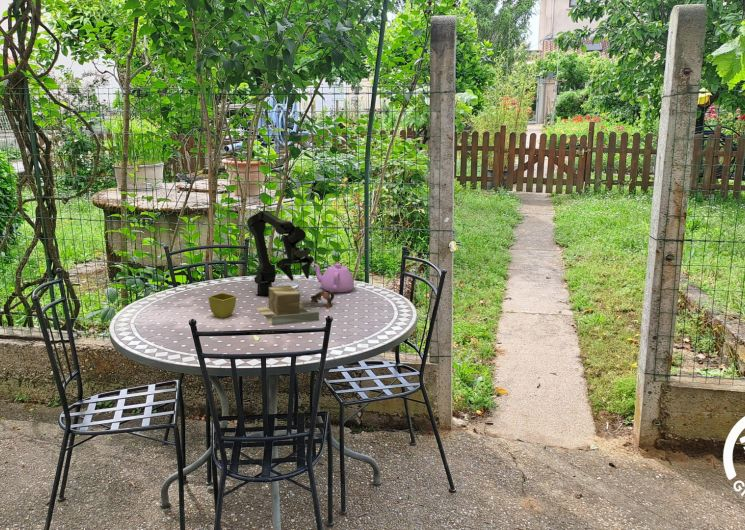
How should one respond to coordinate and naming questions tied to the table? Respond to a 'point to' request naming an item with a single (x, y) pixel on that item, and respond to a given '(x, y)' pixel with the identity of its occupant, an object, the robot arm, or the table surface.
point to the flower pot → (222, 304)
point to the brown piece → (325, 296)
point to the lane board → (288, 316)
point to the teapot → (335, 278)
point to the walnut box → (284, 300)
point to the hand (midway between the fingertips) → (300, 279)
